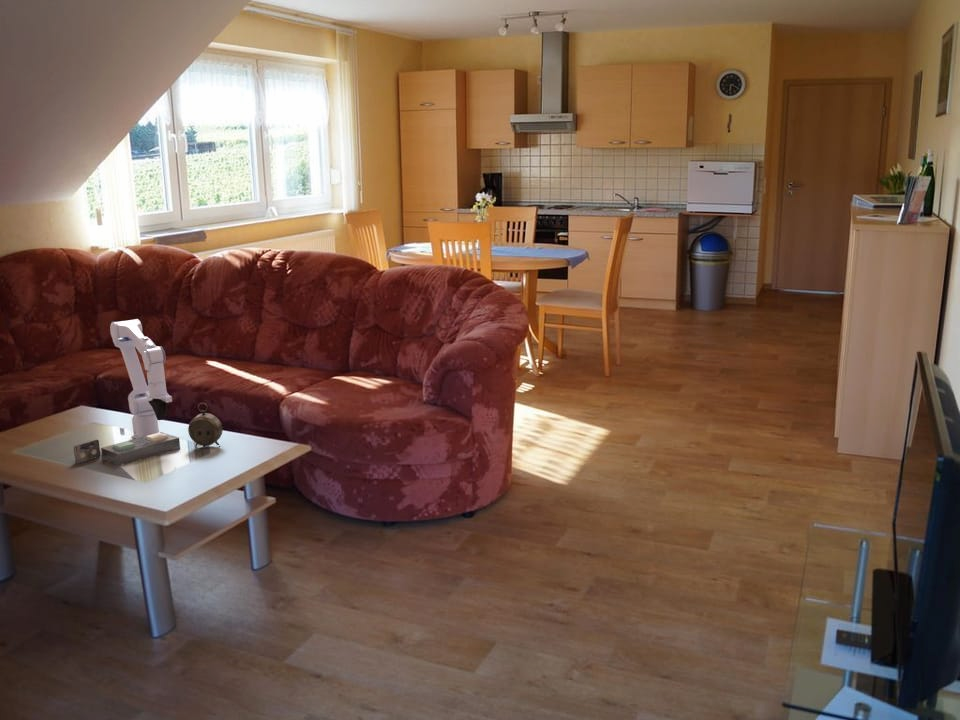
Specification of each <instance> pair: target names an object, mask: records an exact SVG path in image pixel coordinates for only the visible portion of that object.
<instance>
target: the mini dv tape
mask: <svg viewBox="0 0 960 720" xmlns="http://www.w3.org/2000/svg"><path fill="white" fill-rule="evenodd" d="M73 454H74V462H81V463H83V462H82V461H84V462H86V461H85V460H88V461H90V460H89V459H91V460H93V459H92V458H94V459H96V458H95V457H98V458H100V457H99V456H101V457H102V454H101V447H100V441H99V439H94V440H90V441H87V442H83V443H79V444H77V445H73Z"/></svg>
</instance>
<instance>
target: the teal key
mask: <svg viewBox="0 0 960 720" xmlns="http://www.w3.org/2000/svg"><path fill="white" fill-rule="evenodd" d="M128 441H129V440H126V441H121V442H117V443H114V444H112V445H113V449H115V450H118V451H122V450H125V449H129V448H133V447H135V446H134V443H131V442H128Z"/></svg>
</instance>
